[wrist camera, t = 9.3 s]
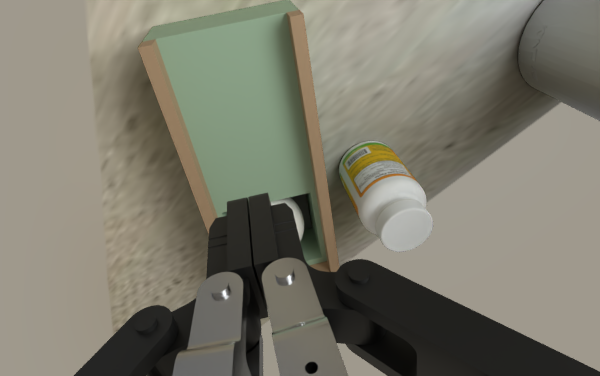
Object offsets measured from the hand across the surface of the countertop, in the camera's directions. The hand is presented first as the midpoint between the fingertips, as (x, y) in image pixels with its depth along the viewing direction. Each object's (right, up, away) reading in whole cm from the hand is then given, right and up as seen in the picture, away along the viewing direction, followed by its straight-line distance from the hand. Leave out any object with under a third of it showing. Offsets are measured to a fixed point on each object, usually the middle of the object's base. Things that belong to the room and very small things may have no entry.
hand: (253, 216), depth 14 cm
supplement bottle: (+8, +3, +22) cm, 24 cm away
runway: (-2, +4, +19) cm, 20 cm away
